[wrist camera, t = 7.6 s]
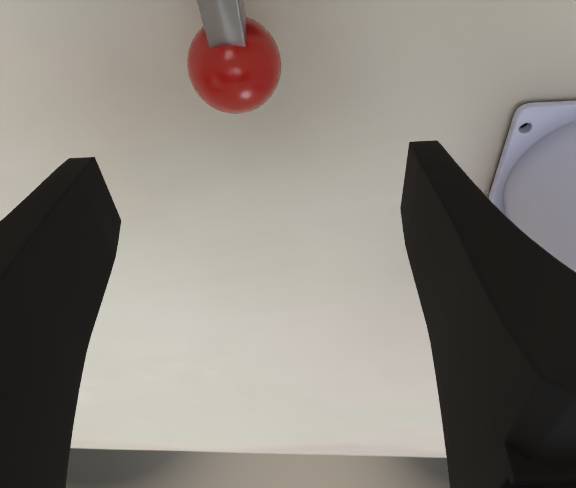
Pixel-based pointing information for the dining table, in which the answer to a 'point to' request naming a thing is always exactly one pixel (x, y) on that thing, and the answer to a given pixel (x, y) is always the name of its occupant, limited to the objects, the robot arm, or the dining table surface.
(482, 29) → the dining table surface
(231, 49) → the lever
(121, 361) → the dining table surface
